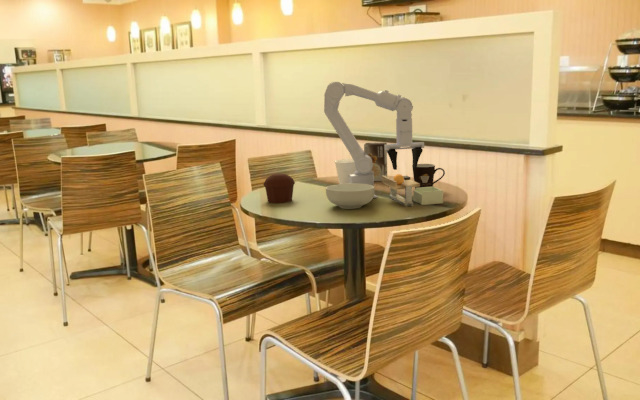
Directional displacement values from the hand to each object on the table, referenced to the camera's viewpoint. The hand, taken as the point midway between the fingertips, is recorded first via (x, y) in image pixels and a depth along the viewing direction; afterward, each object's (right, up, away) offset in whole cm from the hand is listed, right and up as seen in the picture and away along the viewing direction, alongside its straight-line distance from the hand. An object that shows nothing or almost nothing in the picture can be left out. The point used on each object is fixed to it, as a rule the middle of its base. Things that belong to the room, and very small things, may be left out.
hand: (404, 168), depth 215 cm
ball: (-4, -4, -12) cm, 14 cm away
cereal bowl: (-21, -14, -12) cm, 28 cm away
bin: (+7, -12, -9) cm, 16 cm away
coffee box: (-7, -3, +39) cm, 39 cm away
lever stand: (-2, -12, -6) cm, 14 cm away
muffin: (-46, -12, +2) cm, 48 cm away
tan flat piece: (-3, -6, -8) cm, 10 cm away
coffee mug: (+10, -8, +10) cm, 17 cm away
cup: (-20, -7, +24) cm, 32 cm away
